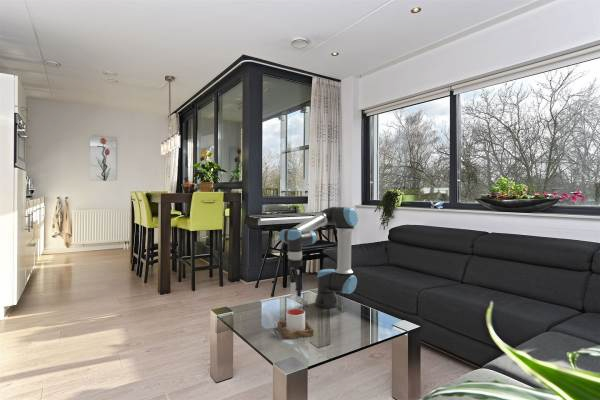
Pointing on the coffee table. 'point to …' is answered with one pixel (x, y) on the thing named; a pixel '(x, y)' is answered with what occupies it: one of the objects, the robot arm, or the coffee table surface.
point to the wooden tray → (294, 334)
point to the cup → (295, 320)
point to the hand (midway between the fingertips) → (295, 298)
